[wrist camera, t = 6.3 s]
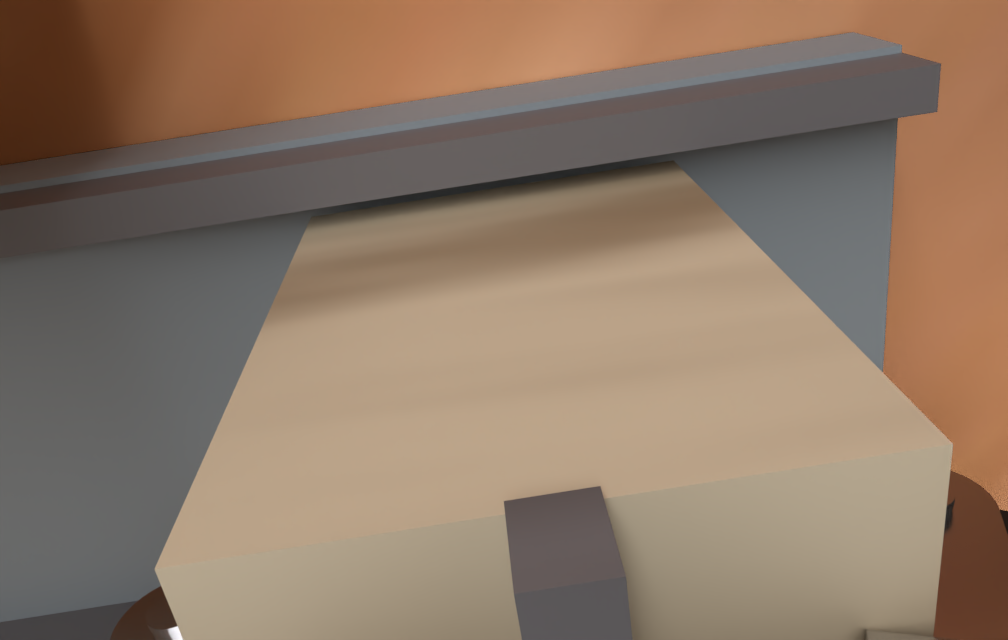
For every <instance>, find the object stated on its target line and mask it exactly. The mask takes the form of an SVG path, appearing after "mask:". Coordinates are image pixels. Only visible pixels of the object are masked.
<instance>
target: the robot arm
mask: <svg viewBox="0 0 1008 640" xmlns="http://www.w3.org/2000/svg"><path fill="white" fill-rule="evenodd" d="M110 640H183V638H182V636H181V633H180V631H179V628H178V626H177V623H176V621H175V618H174V616H173V614H172V611H171V609H170V606H169V604H168V601H167V599H166V596H165V594H164V592H163V589H162V587H161V586H160V587H158V588H156V589H154V590H152V591H151V592H149V593H148V594H146V595H145V596H143V597H142V598H141V599H140V600H138V601H137V602H136V603H135V604H134V605H132V606H131V608H130V609H129V610H128V611H127V612H126V613H125V614H124V615H123V616H122V618H121V619H120V620H119V622H118V623H117V625H116V627H115V628H114V630H113V632H112V635H111V638H110ZM865 640H1008V511H1003V510H999V507H998V505H997V503H996V501H995V500H994V499H993V497H992V496H991V495H990V494H989V493H988V492H987V491H986V490H985V489H984V488H983V487H981V486H980V485H978V484H977V483H975V482H974V481H972V480H970V479H969V478H967V477H965V476H963V475H960V474H958V473H955V472H953V471H950V478H949V488H948V498H947V507H946V517H945V527H944V537H943V546H942V556H941V566H940V575H939V585H938V595H937V604H936V614H935V624H934V633H933V637H932V636H923V635H914V634H905V633H896V632H887V631H878V630H867V629H865Z"/></svg>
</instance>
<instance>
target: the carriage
mask: <svg viewBox="0 0 1008 640" xmlns="http://www.w3.org/2000/svg"><path fill="white" fill-rule="evenodd" d="M952 449H953V443H952V442H951V441H950V440H949V439H948V438H947V437H946V436H945V435H944V434H943V433H942V432H941V431H940V430H939V429H938V428H937V427H936V426H935V425H934V424H933V423H932V422H931V421H930V420H929V419H928V418H927V417H926V416H925V415H924V414H923V413H922V412H921V411H920V410H919V409H918V408H917V407H916V406H915V405H914V404H913V403H912V402H911V401H910V400H909V399H908V398H907V397H906V396H905V395H904V394H903V393H902V392H901V391H900V390H899V389H898V388H897V387H896V386H895V385H894V384H893V383H892V382H891V381H890V379H889V378H888V377H887V376H886V375H885V374H884V373H883V372H882V371H881V370H880V369H879V368H878V367H877V366H876V365H875V364H874V363H873V362H872V361H871V360H870V359H869V358H868V357H867V356H866V355H865V354H864V353H863V352H862V351H861V350H860V349H859V348H858V347H857V346H856V345H855V344H854V343H853V342H852V341H851V340H850V339H849V338H848V337H847V336H846V335H845V334H844V333H843V332H842V331H841V330H840V329H839V328H838V327H837V326H836V325H835V324H834V323H833V322H832V321H831V320H830V319H829V318H828V317H827V316H826V315H825V314H824V313H823V312H822V311H821V310H820V308H819V307H818V306H817V305H816V304H815V303H814V302H813V301H812V300H811V299H810V298H809V297H808V296H807V295H806V294H805V293H804V292H803V291H802V290H801V289H800V288H799V287H798V286H797V285H796V284H795V283H794V282H793V281H792V280H791V279H790V278H789V277H788V276H787V275H786V274H785V273H784V272H783V271H782V270H781V269H780V268H779V267H778V266H777V265H776V264H775V263H774V262H773V261H772V260H771V259H770V258H769V257H768V256H767V255H766V254H765V253H764V252H763V251H762V250H761V249H760V248H759V247H758V246H757V245H756V244H755V243H754V242H753V241H752V240H751V239H750V237H749V236H748V235H747V234H746V233H745V232H744V231H743V230H742V229H741V228H740V227H739V226H738V225H737V224H736V223H735V222H734V221H733V220H732V219H731V218H730V217H729V216H728V215H727V214H726V213H725V212H724V211H723V210H722V209H721V208H720V207H719V206H718V205H717V204H716V203H715V202H714V201H713V200H712V199H711V198H710V197H709V196H708V195H707V194H706V193H705V192H704V191H703V190H702V189H701V188H700V187H699V186H698V185H697V184H696V183H695V182H694V181H693V180H692V179H691V178H690V177H689V176H688V175H687V174H686V173H685V172H684V171H683V170H682V169H681V168H680V166H679V165H678V164H677V163H676V162H675V161H674V160H672V161H665V162H659V163H653V164H646V165H640V166H633V167H627V168H621V169H614V170H608V171H601V172H595V173H589V174H582V175H576V176H569V177H563V178H557V179H550V180H544V181H537V182H531V183H525V184H518V185H512V186H505V187H499V188H493V189H486V190H480V191H473V192H467V193H461V194H454V195H448V196H441V197H435V198H429V199H422V200H416V201H409V202H403V203H397V204H390V205H384V206H378V207H371V208H365V209H358V210H352V211H346V212H339V213H333V214H326V215H320V216H314V217H311V218H310V221H309V223H308V225H307V227H306V230H305V232H304V234H303V236H302V239H301V241H300V243H299V245H298V248H297V250H296V252H295V254H294V257H293V259H292V261H291V263H290V266H289V268H288V270H287V272H286V275H285V277H284V279H283V281H282V284H281V286H280V288H279V290H278V293H277V295H276V297H275V299H274V301H273V304H272V306H271V308H270V310H269V313H268V315H267V317H266V319H265V322H264V324H263V326H262V328H261V331H260V333H259V335H258V337H257V340H256V342H255V344H254V346H253V349H252V351H251V353H250V355H249V358H248V360H247V362H246V364H245V367H244V369H243V371H242V373H241V376H240V378H239V380H238V382H237V385H236V387H235V389H234V391H233V394H232V396H231V398H230V400H229V403H228V405H227V407H226V409H225V412H224V414H223V416H222V418H221V421H220V423H219V425H218V427H217V430H216V432H215V434H214V436H213V439H212V441H211V443H210V445H209V447H208V450H207V452H206V454H205V456H204V459H203V461H202V463H201V465H200V468H199V470H198V472H197V474H196V477H195V479H194V481H193V483H192V486H191V488H190V490H189V492H188V495H187V497H186V499H185V501H184V504H183V506H182V508H181V510H180V513H179V515H178V517H177V519H176V522H175V524H174V526H173V528H172V531H171V533H170V535H169V537H168V540H167V542H166V544H165V546H164V549H163V551H162V553H161V555H160V558H159V560H158V562H157V564H156V567H155V569H154V570H155V572H156V574H157V577H158V579H159V582H160V584H161V587H162V589H163V592H164V594H165V596H166V599H167V601H168V604H169V606H170V609H171V611H172V614H173V616H174V618H175V621H176V623H177V626H178V628H179V631H180V633H181V636H182V638H183V640H865V629H867V630H878V631H887V632H896V633H905V634H914V635H923V636H932V637H933V633H934V624H935V614H936V604H937V595H938V585H939V575H940V566H941V556H942V546H943V537H944V527H945V517H946V507H947V498H948V488H949V478H950V469H951V459H952Z"/></svg>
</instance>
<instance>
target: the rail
mask: <svg viewBox="0 0 1008 640" xmlns="http://www.w3.org/2000/svg"><path fill="white" fill-rule="evenodd" d="M940 69H941V64H940V63H937V62H933V61H930V60H926V59H922V58H919V57H915V56H912V55H908V54H904V53H902V45H900V44H896V43H892V42H888V41H884V40H881V39H877V38H873V37H869V36H865V35H861V34H858V33H854V32H852V33H846V34H839V35H833V36H826V37H820V38H814V39H807V40H801V41H794V42H788V43H782V44H775V45H769V46H762V47H756V48H750V49H743V50H737V51H730V52H724V53H718V54H711V55H705V56H698V57H692V58H686V59H679V60H673V61H666V62H660V63H654V64H647V65H641V66H634V67H628V68H622V69H615V70H609V71H602V72H596V73H590V74H583V75H577V76H570V77H564V78H558V79H551V80H545V81H538V82H532V83H526V84H519V85H513V86H506V87H500V88H494V89H487V90H481V91H474V92H468V93H462V94H455V95H449V96H442V97H436V98H430V99H423V100H417V101H410V102H404V103H397V104H391V105H385V106H378V107H372V108H365V109H359V110H353V111H346V112H340V113H333V114H327V115H321V116H314V117H308V118H301V119H295V120H289V121H282V122H276V123H269V124H263V125H257V126H250V127H244V128H237V129H231V130H225V131H218V132H212V133H205V134H199V135H193V136H186V137H180V138H173V139H167V140H161V141H154V142H148V143H141V144H135V145H129V146H122V147H116V148H109V149H103V150H97V151H90V152H84V153H77V154H71V155H65V156H58V157H52V158H45V159H39V160H33V161H26V162H20V163H13V164H7V165H1V166H0V640H110V638H111V635H112V632H113V630H114V628H115V627H116V625H117V623H118V622H119V620H120V619H121V618H122V616H123V615H124V614H125V613H126V612H127V611H128V610H129V609H130V608H131V606H132V605H134V604H135V603H136V602H137V601H138V600H140V599H141V598H142V597H143V596H145V595H146V594H148V593H149V592H151V591H152V590H154V589H156V588H158V587H160V586H161V584H160V582H159V579H158V577H157V574H156V572H155V570H154V569H155V567H156V564H157V562H158V560H159V558H160V555H161V553H162V551H163V549H164V546H165V544H166V542H167V540H168V537H169V535H170V533H171V531H172V528H173V526H174V524H175V522H176V519H177V517H178V515H179V513H180V510H181V508H182V506H183V504H184V501H185V499H186V497H187V495H188V492H189V490H190V488H191V486H192V483H193V481H194V479H195V477H196V474H197V472H198V470H199V468H200V465H201V463H202V461H203V459H204V456H205V454H206V452H207V450H208V447H209V445H210V443H211V441H212V439H213V436H214V434H215V432H216V430H217V427H218V425H219V423H220V421H221V418H222V416H223V414H224V412H225V409H226V407H227V405H228V403H229V400H230V398H231V396H232V394H233V391H234V389H235V387H236V385H237V382H238V380H239V378H240V376H241V373H242V371H243V369H244V367H245V364H246V362H247V360H248V358H249V355H250V353H251V351H252V349H253V346H254V344H255V342H256V340H257V337H258V335H259V333H260V331H261V328H262V326H263V324H264V322H265V319H266V317H267V315H268V313H269V310H270V308H271V306H272V304H273V301H274V299H275V297H276V295H277V293H278V290H279V288H280V286H281V284H282V281H283V279H284V277H285V275H286V272H287V270H288V268H289V266H290V263H291V261H292V259H293V257H294V254H295V252H296V250H297V248H298V245H299V243H300V241H301V239H302V236H303V234H304V232H305V230H306V227H307V225H308V223H309V221H310V218H311V217H314V216H320V215H326V214H333V213H339V212H346V211H352V210H358V209H365V208H371V207H378V206H384V205H390V204H397V203H403V202H409V201H416V200H422V199H429V198H435V197H441V196H448V195H454V194H461V193H467V192H473V191H480V190H486V189H493V188H499V187H505V186H512V185H518V184H525V183H531V182H537V181H544V180H550V179H557V178H563V177H569V176H576V175H582V174H589V173H595V172H601V171H608V170H614V169H621V168H627V167H633V166H640V165H646V164H653V163H659V162H665V161H672V160H674V161H675V162H676V163H677V164H678V165H679V166H680V168H681V169H682V170H683V171H684V172H685V173H686V174H687V175H688V176H689V177H690V178H691V179H692V180H693V181H694V182H695V183H696V184H697V185H698V186H699V187H700V188H701V189H702V190H703V191H704V192H705V193H706V194H707V195H708V196H709V197H710V198H711V199H712V200H713V201H714V202H715V203H716V204H717V205H718V206H719V207H720V208H721V209H722V210H723V211H724V212H725V213H726V214H727V215H728V216H729V217H730V218H731V219H732V220H733V221H734V222H735V223H736V224H737V225H738V226H739V227H740V228H741V229H742V230H743V231H744V232H745V233H746V234H747V235H748V236H749V237H750V239H751V240H752V241H753V242H754V243H755V244H756V245H757V246H758V247H759V248H760V249H761V250H762V251H763V252H764V253H765V254H766V255H767V256H768V257H769V258H770V259H771V260H772V261H773V262H774V263H775V264H776V265H777V266H778V267H779V268H780V269H781V270H782V271H783V272H784V273H785V274H786V275H787V276H788V277H789V278H790V279H791V280H792V281H793V282H794V283H795V284H796V285H797V286H798V287H799V288H800V289H801V290H802V291H803V292H804V293H805V294H806V295H807V296H808V297H809V298H810V299H811V300H812V301H813V302H814V303H815V304H816V305H817V306H818V307H819V308H820V310H821V311H822V312H823V313H824V314H825V315H826V316H827V317H828V318H829V319H830V320H831V321H832V322H833V323H834V324H835V325H836V326H837V327H838V328H839V329H840V330H841V331H842V332H843V333H844V334H845V335H846V336H847V337H848V338H849V339H850V340H851V341H852V342H853V343H854V344H855V345H856V346H857V347H858V348H859V349H860V350H861V351H862V352H863V353H864V354H865V355H866V356H867V357H868V358H869V359H870V360H871V361H872V362H873V363H874V364H875V365H876V366H877V367H878V368H879V369H880V370H881V371H882V372H883V361H884V344H885V327H886V310H887V293H888V276H889V259H890V241H891V224H892V207H893V190H894V173H895V156H896V139H897V122H898V118H901V117H907V116H913V115H920V114H926V113H933V112H937V107H938V94H939V82H940Z"/></svg>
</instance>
